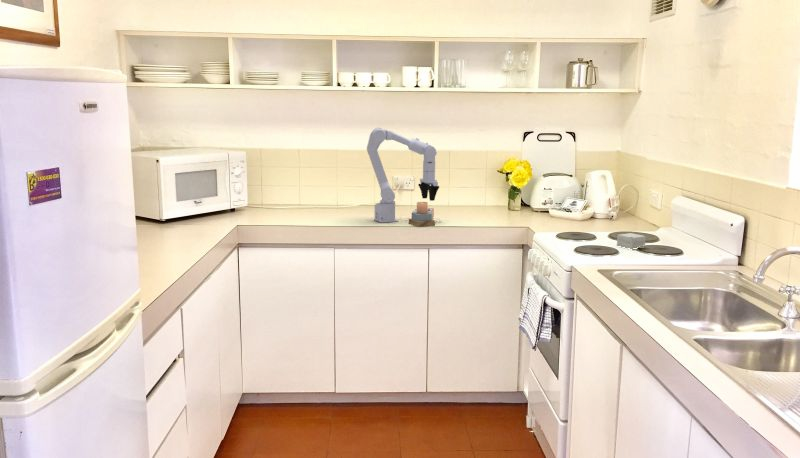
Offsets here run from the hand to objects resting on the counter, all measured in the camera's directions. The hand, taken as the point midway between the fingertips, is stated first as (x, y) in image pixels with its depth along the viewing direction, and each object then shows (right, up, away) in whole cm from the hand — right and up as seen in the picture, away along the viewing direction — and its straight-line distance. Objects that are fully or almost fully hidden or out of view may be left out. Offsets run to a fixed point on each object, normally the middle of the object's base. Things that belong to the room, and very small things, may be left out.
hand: (428, 199), depth 323 cm
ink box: (-1, -6, +10) cm, 12 cm away
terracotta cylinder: (-3, -7, -10) cm, 12 cm away
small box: (+79, -22, -52) cm, 97 cm away
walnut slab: (-3, -13, -8) cm, 16 cm away
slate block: (-4, -10, -9) cm, 14 cm away
